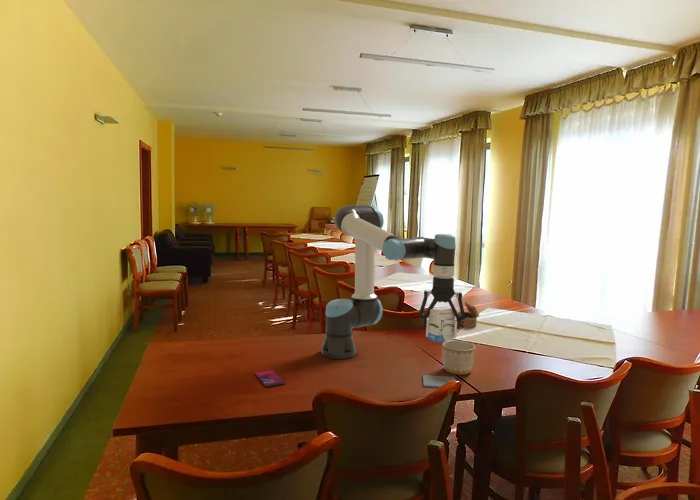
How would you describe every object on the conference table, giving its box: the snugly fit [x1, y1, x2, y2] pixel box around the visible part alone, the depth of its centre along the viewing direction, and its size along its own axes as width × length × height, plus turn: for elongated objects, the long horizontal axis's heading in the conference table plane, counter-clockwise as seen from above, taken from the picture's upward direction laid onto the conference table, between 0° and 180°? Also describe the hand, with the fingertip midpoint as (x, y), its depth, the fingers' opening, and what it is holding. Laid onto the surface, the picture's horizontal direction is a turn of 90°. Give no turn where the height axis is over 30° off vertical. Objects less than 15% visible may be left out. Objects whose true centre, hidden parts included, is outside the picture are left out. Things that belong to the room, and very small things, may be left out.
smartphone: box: [254, 369, 286, 389], centre depth 173 cm, size 8×1×15 cm
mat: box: [422, 374, 456, 389], centre depth 173 cm, size 12×10×1 cm
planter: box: [442, 340, 476, 376], centre depth 185 cm, size 13×13×10 cm
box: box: [457, 301, 480, 328], centre depth 256 cm, size 28×28×12 cm
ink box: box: [427, 306, 456, 343], centre depth 170 cm, size 9×5×12 cm, turn 117°
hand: (440, 336), depth 171 cm, fingers closed on ink box, 9 cm apart
